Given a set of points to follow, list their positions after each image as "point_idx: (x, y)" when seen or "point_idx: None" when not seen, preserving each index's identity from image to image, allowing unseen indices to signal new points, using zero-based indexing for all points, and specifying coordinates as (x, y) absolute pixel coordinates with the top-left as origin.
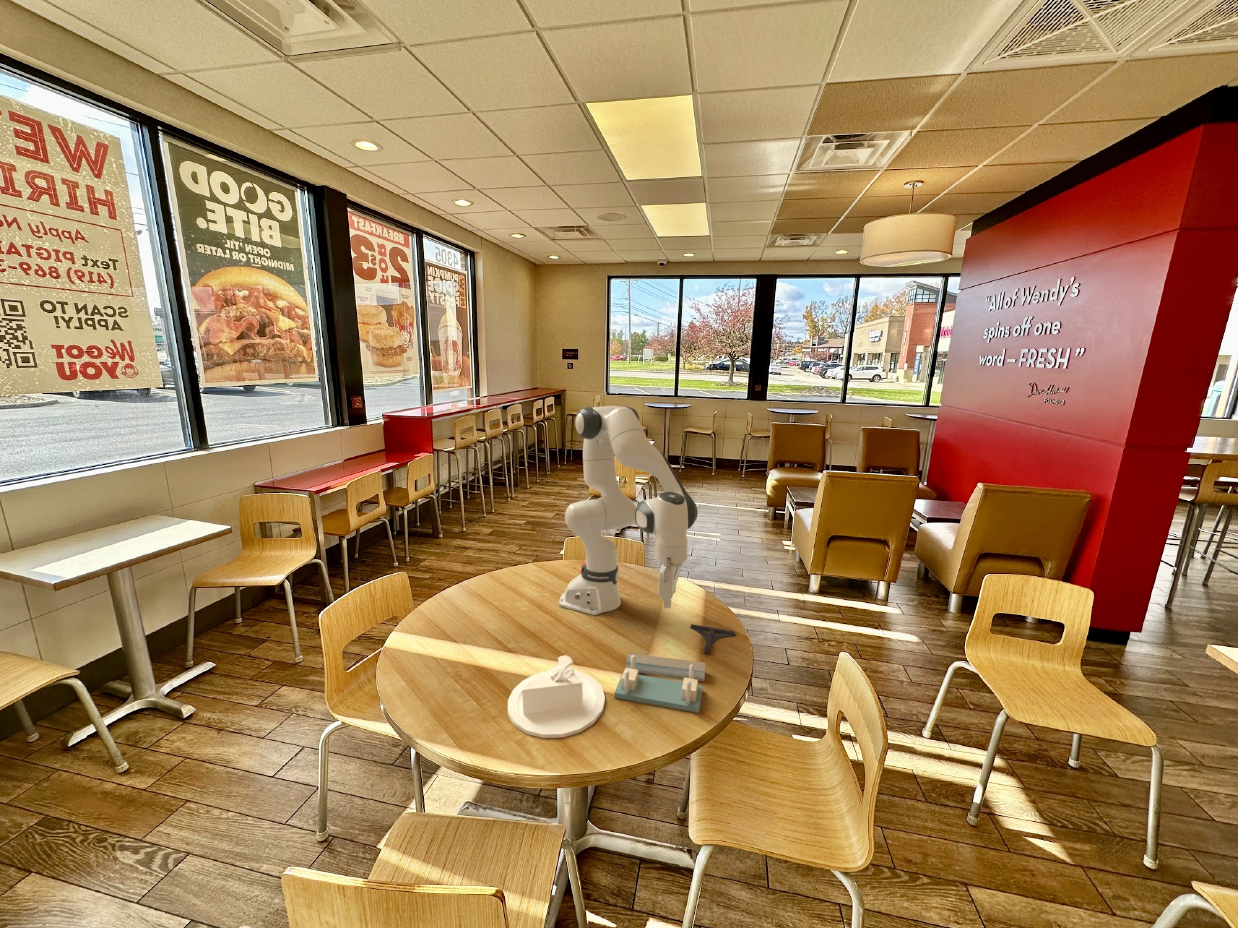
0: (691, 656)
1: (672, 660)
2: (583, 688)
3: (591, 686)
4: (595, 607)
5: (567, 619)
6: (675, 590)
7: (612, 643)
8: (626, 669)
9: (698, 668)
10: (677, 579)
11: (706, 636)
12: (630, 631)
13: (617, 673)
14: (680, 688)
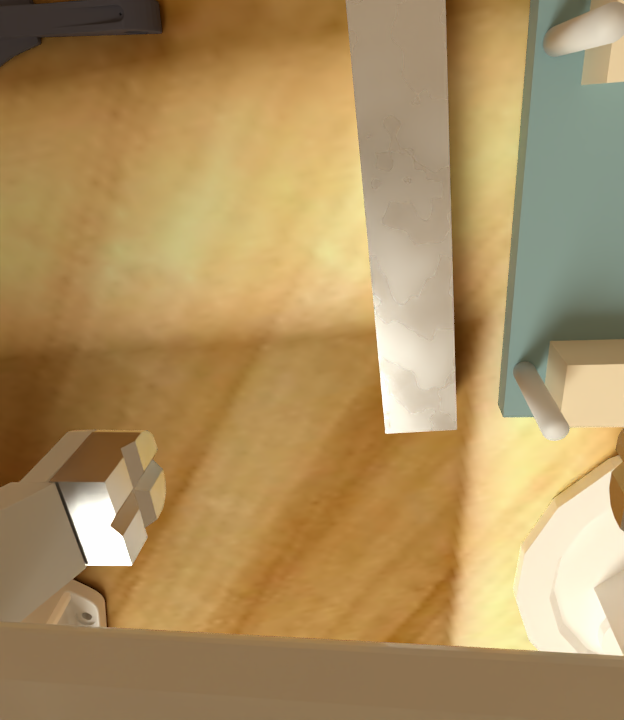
0: (220, 110)
1: (385, 203)
2: (615, 522)
3: None
4: (65, 614)
5: None
6: (86, 433)
7: (266, 495)
8: (575, 419)
9: (425, 13)
10: (179, 705)
11: None
12: None
13: (477, 429)
14: (593, 103)
